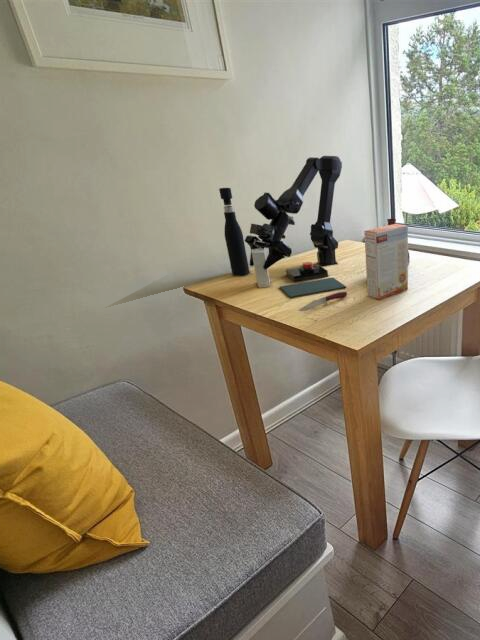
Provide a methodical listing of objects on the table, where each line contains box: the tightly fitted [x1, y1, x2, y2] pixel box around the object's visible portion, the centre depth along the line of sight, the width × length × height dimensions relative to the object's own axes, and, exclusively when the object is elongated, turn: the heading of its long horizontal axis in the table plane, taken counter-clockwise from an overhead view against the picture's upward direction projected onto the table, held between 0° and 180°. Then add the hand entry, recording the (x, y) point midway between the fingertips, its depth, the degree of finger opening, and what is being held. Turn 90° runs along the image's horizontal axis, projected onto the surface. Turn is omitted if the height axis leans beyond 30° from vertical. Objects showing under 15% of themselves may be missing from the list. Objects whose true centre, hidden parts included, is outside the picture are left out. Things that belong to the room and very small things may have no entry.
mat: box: [279, 277, 347, 299], centre depth 147 cm, size 20×12×1 cm, turn 118°
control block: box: [285, 264, 329, 283], centre depth 158 cm, size 13×11×4 cm
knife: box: [297, 290, 348, 312], centre depth 131 cm, size 20×1×3 cm, turn 140°
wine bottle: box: [218, 187, 250, 277], centre depth 155 cm, size 6×6×30 cm
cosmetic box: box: [250, 248, 271, 288], centre depth 148 cm, size 6×4×12 cm
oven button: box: [302, 261, 314, 269], centre depth 155 cm, size 4×4×2 cm
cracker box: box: [364, 223, 409, 300], centre depth 136 cm, size 14×6×21 cm, turn 135°
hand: (257, 267), depth 147 cm, fingers closed on cosmetic box, 7 cm apart
